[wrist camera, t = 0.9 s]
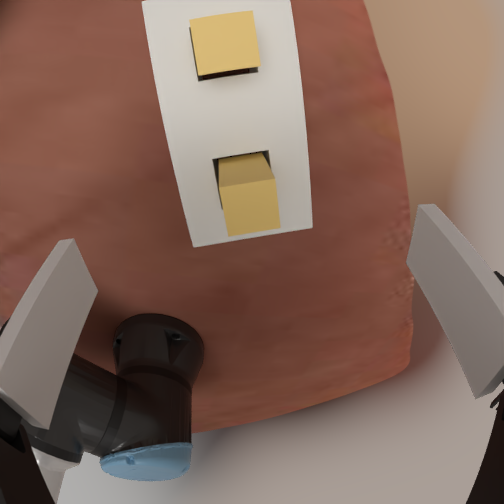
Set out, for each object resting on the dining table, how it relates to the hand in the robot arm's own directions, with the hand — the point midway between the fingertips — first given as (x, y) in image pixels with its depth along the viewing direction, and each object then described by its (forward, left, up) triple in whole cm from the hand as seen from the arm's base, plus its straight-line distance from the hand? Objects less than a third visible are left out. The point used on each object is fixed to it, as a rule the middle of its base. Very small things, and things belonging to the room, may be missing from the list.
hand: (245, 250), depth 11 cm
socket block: (+2, -1, -26) cm, 26 cm away
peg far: (-4, -1, -20) cm, 20 cm away
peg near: (+8, -1, -20) cm, 21 cm away
